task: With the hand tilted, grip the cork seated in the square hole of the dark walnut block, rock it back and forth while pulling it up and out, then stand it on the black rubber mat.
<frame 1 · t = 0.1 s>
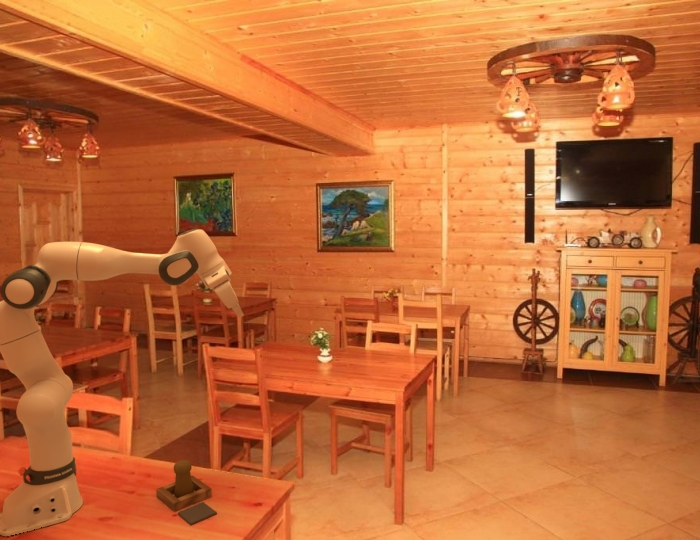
hand: (240, 313, 170), 54 cm above the table, tool tilted 30°, fingers open, 8 cm apart
rubber mat: (197, 514, 157), on the table
cork: (184, 497, 167), resting in walnut housing
walnut housing: (184, 496, 167), on the table
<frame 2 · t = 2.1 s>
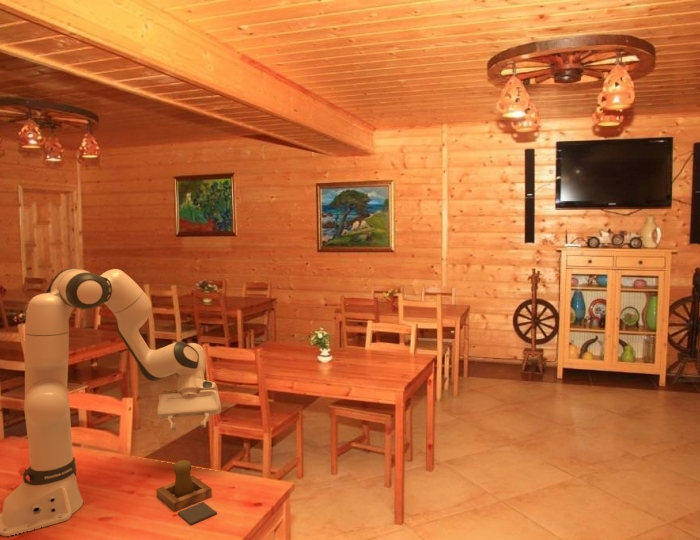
hand: (188, 428, 178), 17 cm above the table, tool tilted 45°, fingers open, 8 cm apart
nothing on the table moved.
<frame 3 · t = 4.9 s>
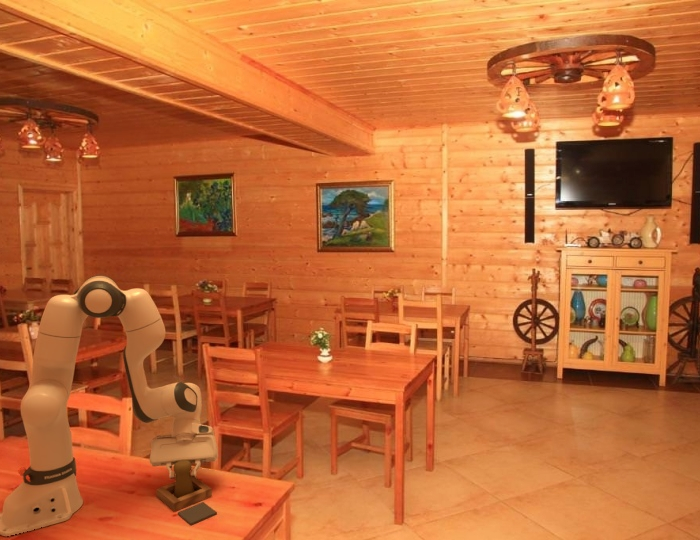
hand: (182, 477, 166), 6 cm above the table, tool tilted 45°, fingers closed on cork, 5 cm apart
cork: (184, 497, 167), resting in walnut housing, touching gripper
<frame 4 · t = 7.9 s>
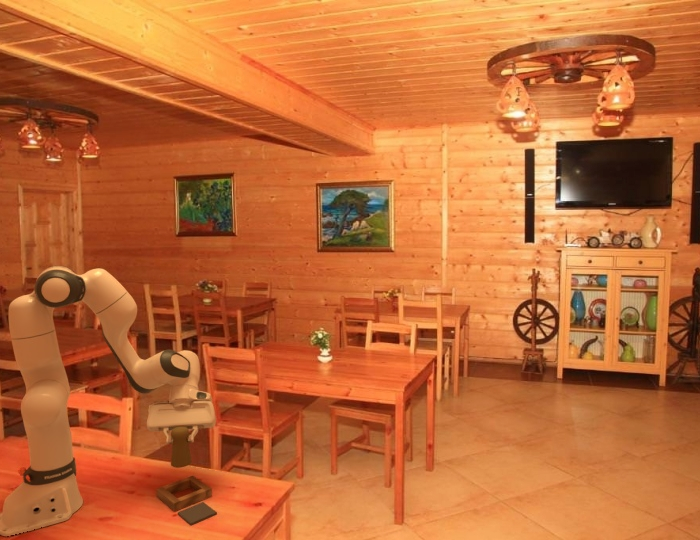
hand: (179, 442, 164), 17 cm above the table, tool tilted 45°, fingers closed on cork, 5 cm apart
cork: (181, 463, 166), point 11 cm above the table, touching gripper
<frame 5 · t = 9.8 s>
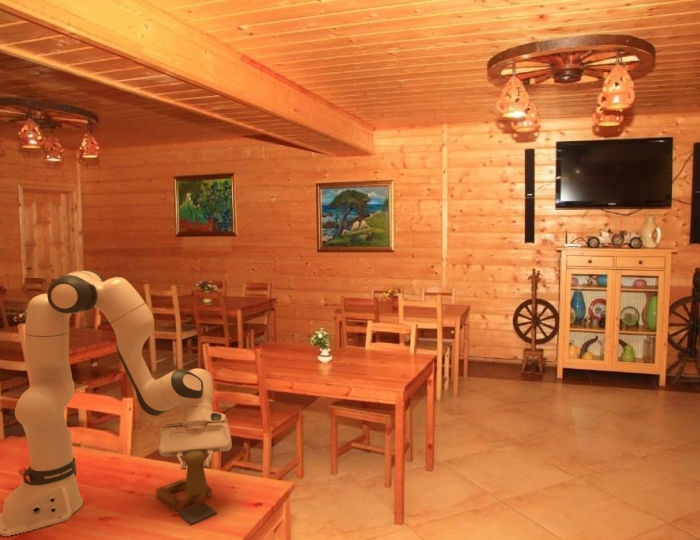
hand: (194, 468, 155), 14 cm above the table, tool tilted 45°, fingers closed on cork, 5 cm apart
cork: (196, 489, 157), point 7 cm above the table, touching gripper
when the fingers open (8 cm above the table, at t = 11.2 s): cork stays where it is, resting on rubber mat.
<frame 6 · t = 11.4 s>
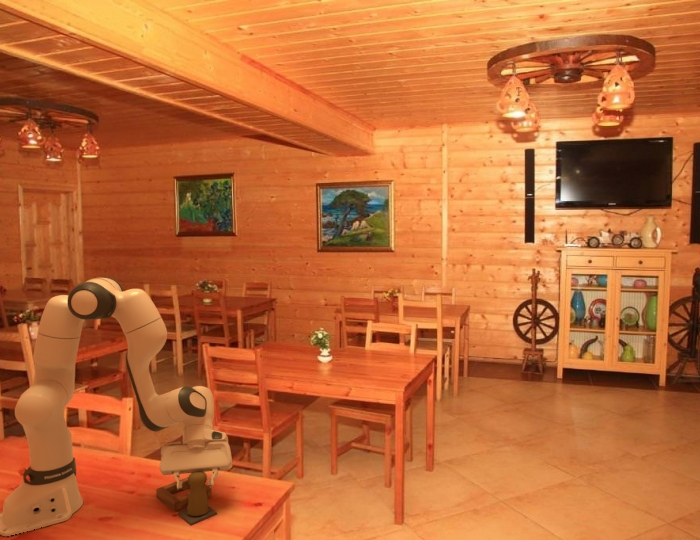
hand: (195, 487, 156), 8 cm above the table, tool tilted 45°, fingers open, 7 cm apart
cork: (198, 511, 157), point 1 cm above the table, touching rubber mat
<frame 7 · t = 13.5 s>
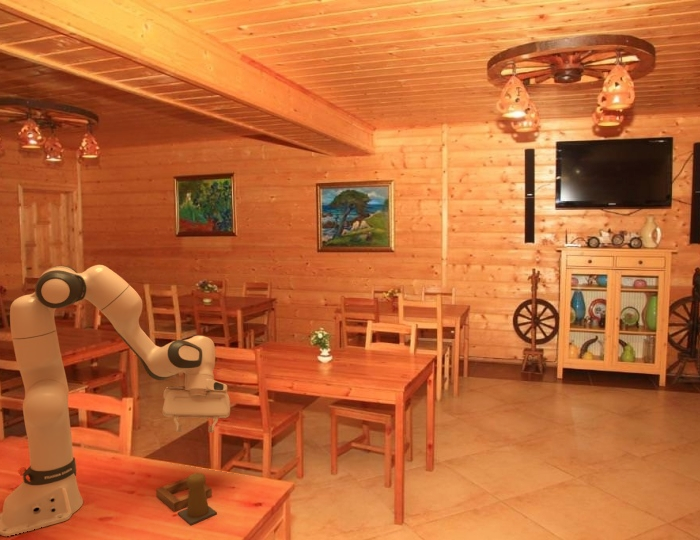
hand: (195, 431, 167), 19 cm above the table, tool tilted 35°, fingers open, 8 cm apart
nothing on the table moved.
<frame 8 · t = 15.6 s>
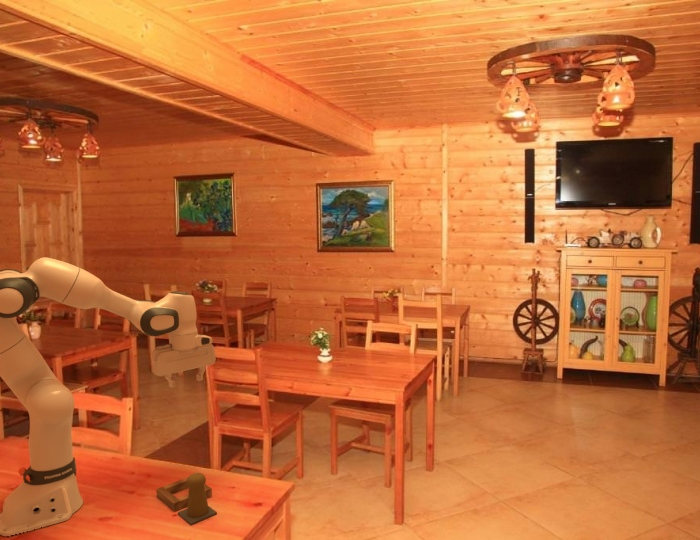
hand: (186, 383, 177), 31 cm above the table, tool pointing down, fingers open, 8 cm apart
nothing on the table moved.
at the end: cork 0.3 cm from the rubber mat (horizontally); cork tilted 0°; the gripper is holding nothing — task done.
